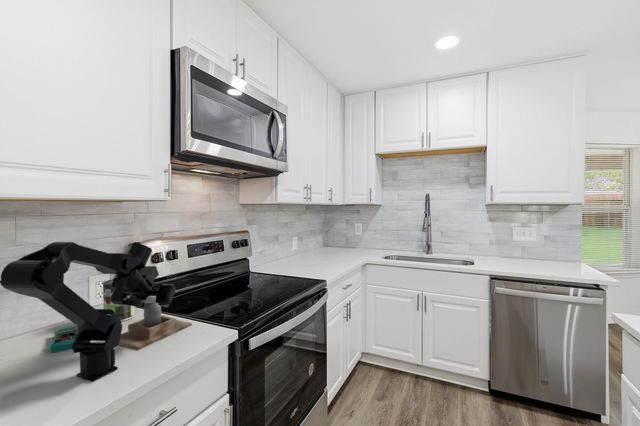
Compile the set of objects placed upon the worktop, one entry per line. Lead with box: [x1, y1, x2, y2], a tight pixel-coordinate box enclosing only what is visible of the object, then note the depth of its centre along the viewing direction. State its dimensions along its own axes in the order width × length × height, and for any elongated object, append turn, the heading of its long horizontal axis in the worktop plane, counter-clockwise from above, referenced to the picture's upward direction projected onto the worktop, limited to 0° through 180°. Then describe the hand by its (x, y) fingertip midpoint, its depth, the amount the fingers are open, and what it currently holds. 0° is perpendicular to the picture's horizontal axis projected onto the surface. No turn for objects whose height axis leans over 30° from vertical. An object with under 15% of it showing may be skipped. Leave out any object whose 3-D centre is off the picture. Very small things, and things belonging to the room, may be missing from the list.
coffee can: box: [102, 278, 136, 322], centre depth 118 cm, size 10×10×14 cm
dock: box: [119, 315, 193, 351], centre depth 104 cm, size 20×14×4 cm
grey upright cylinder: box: [143, 296, 162, 328], centre depth 104 cm, size 5×5×12 cm
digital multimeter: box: [50, 325, 78, 354], centre depth 98 cm, size 7×15×3 cm, turn 36°
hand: (154, 306), depth 105 cm, fingers open, 9 cm apart
